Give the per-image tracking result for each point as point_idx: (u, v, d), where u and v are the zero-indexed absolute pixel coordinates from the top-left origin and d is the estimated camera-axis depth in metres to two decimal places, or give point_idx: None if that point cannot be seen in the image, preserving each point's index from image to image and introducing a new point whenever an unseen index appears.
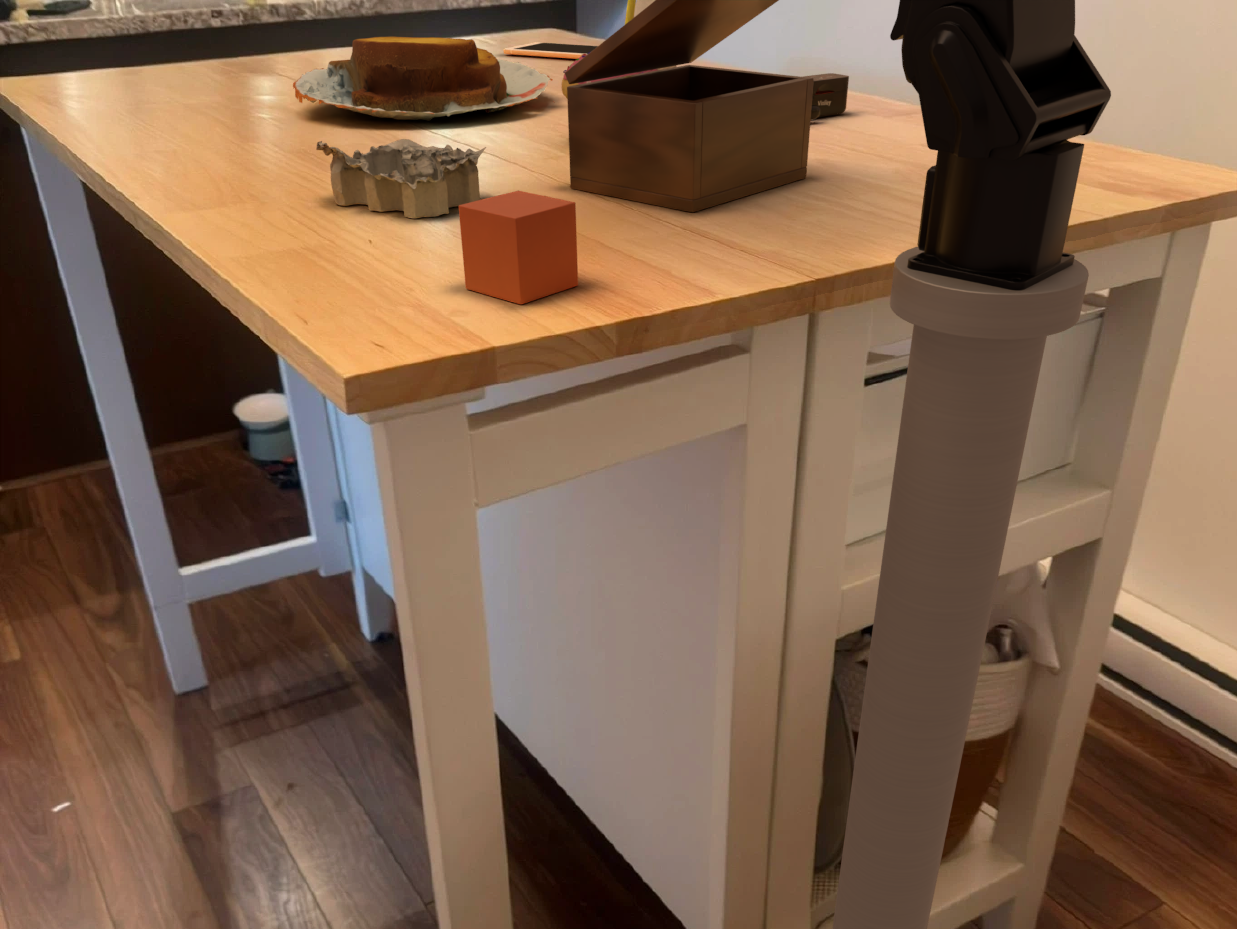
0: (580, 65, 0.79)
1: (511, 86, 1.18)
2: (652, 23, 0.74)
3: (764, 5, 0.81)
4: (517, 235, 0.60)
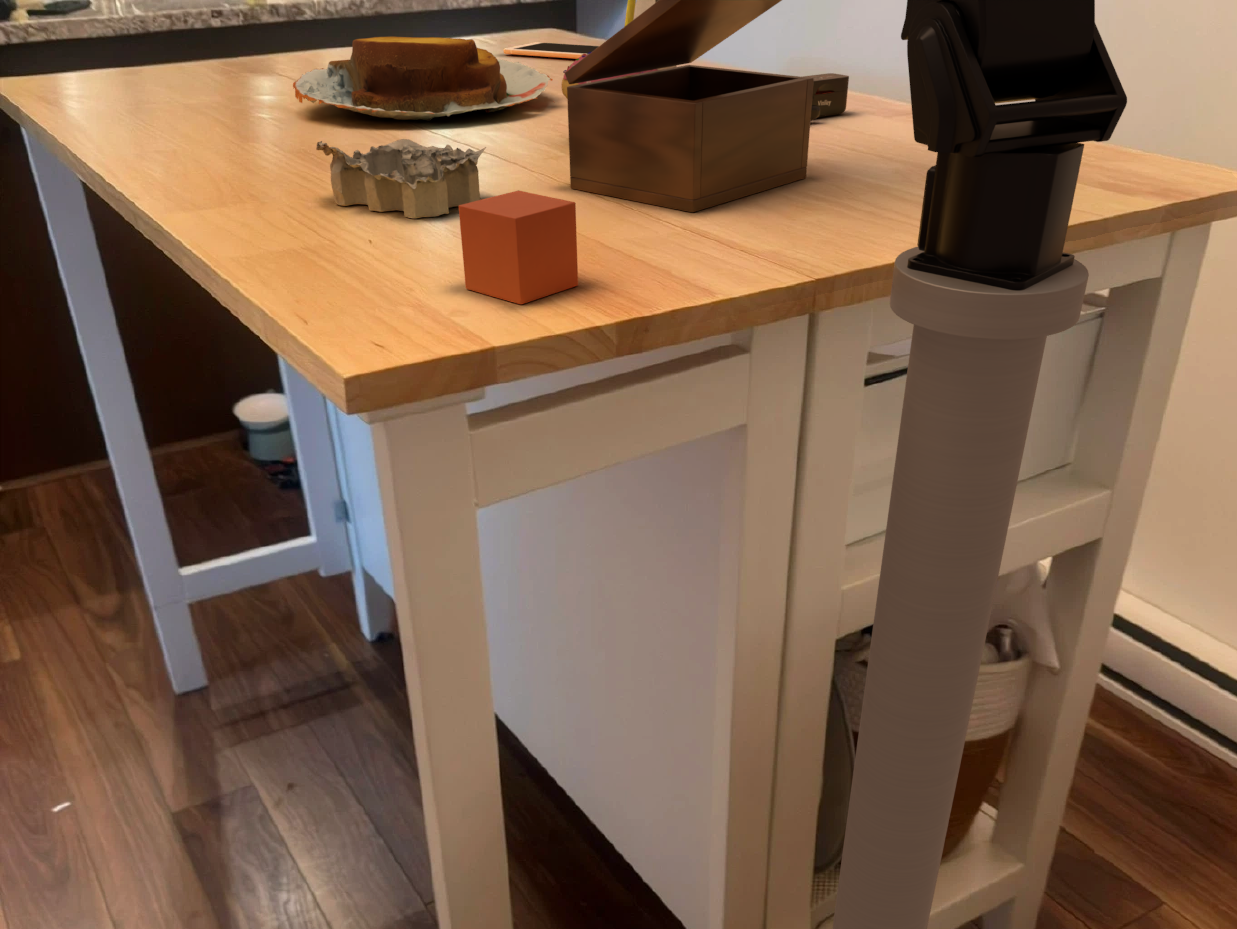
0: (580, 65, 0.79)
1: (511, 86, 1.18)
2: (653, 25, 0.74)
3: (765, 7, 0.81)
4: (517, 235, 0.60)
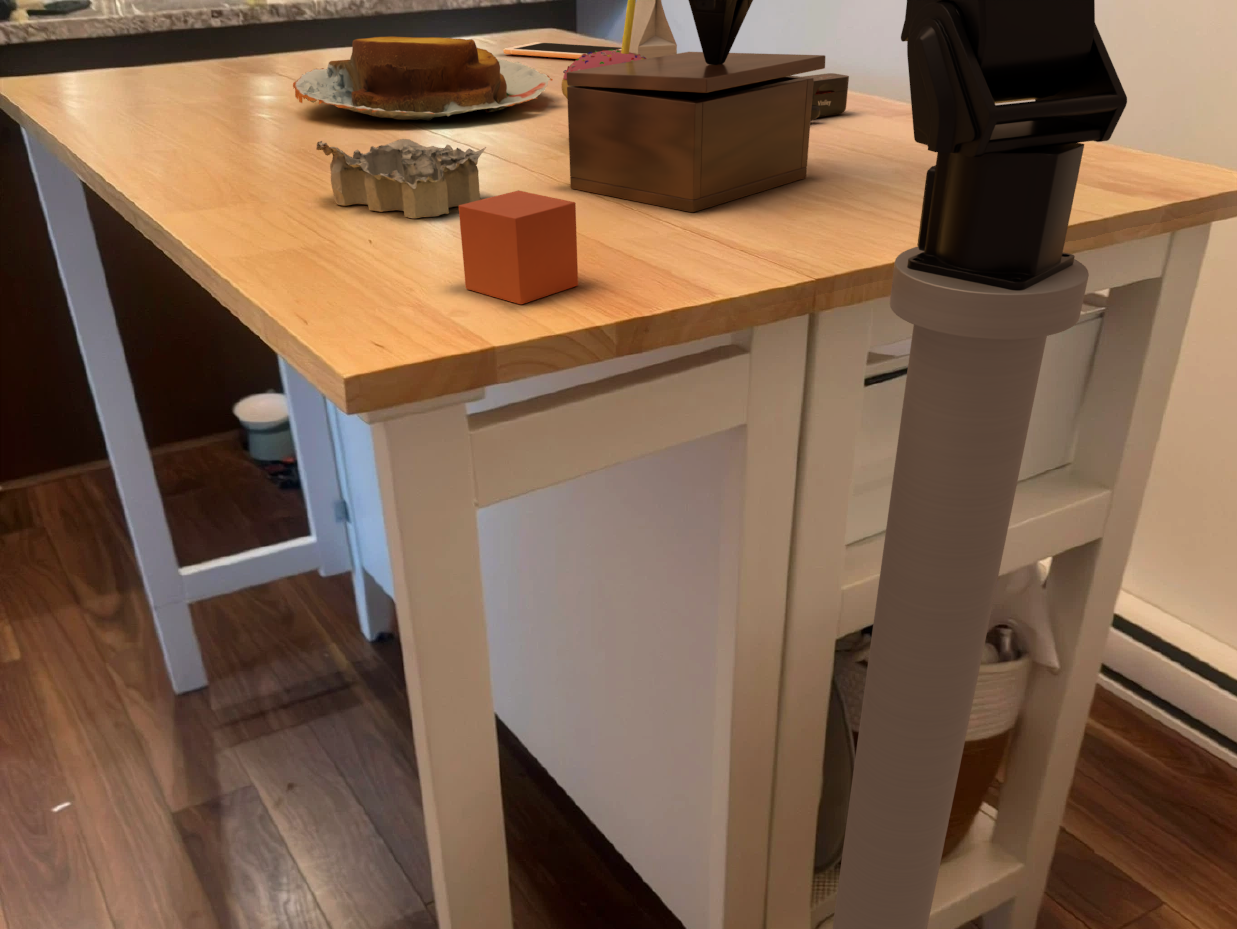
0: (583, 77, 0.79)
1: (511, 86, 1.18)
2: None
3: None
4: (517, 235, 0.60)
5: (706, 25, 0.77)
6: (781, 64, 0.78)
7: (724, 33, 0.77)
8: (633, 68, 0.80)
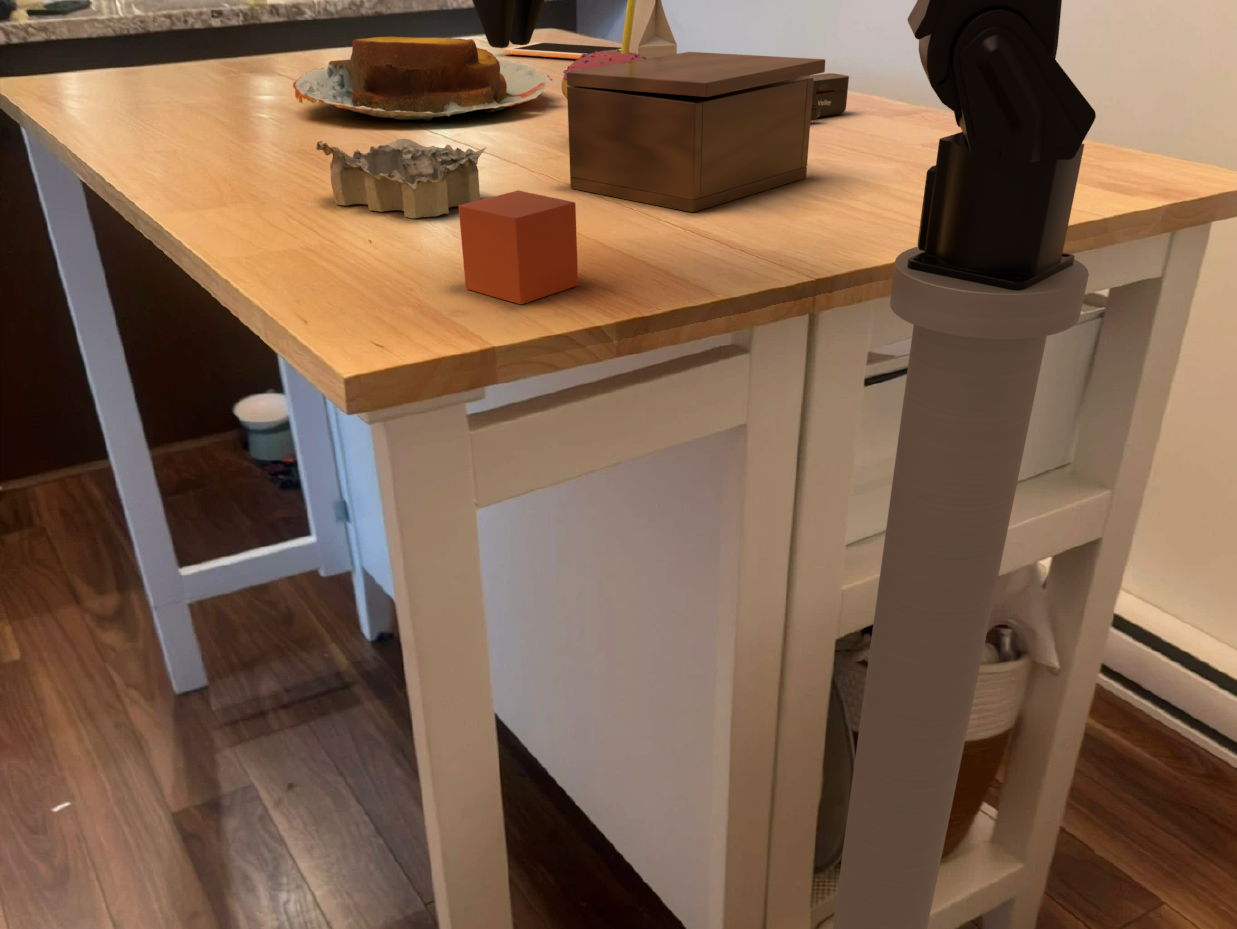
0: (583, 78, 0.79)
1: (511, 86, 1.18)
2: None
3: None
4: (517, 235, 0.60)
5: None
6: (781, 68, 0.78)
7: (506, 3, 0.55)
8: (633, 69, 0.80)
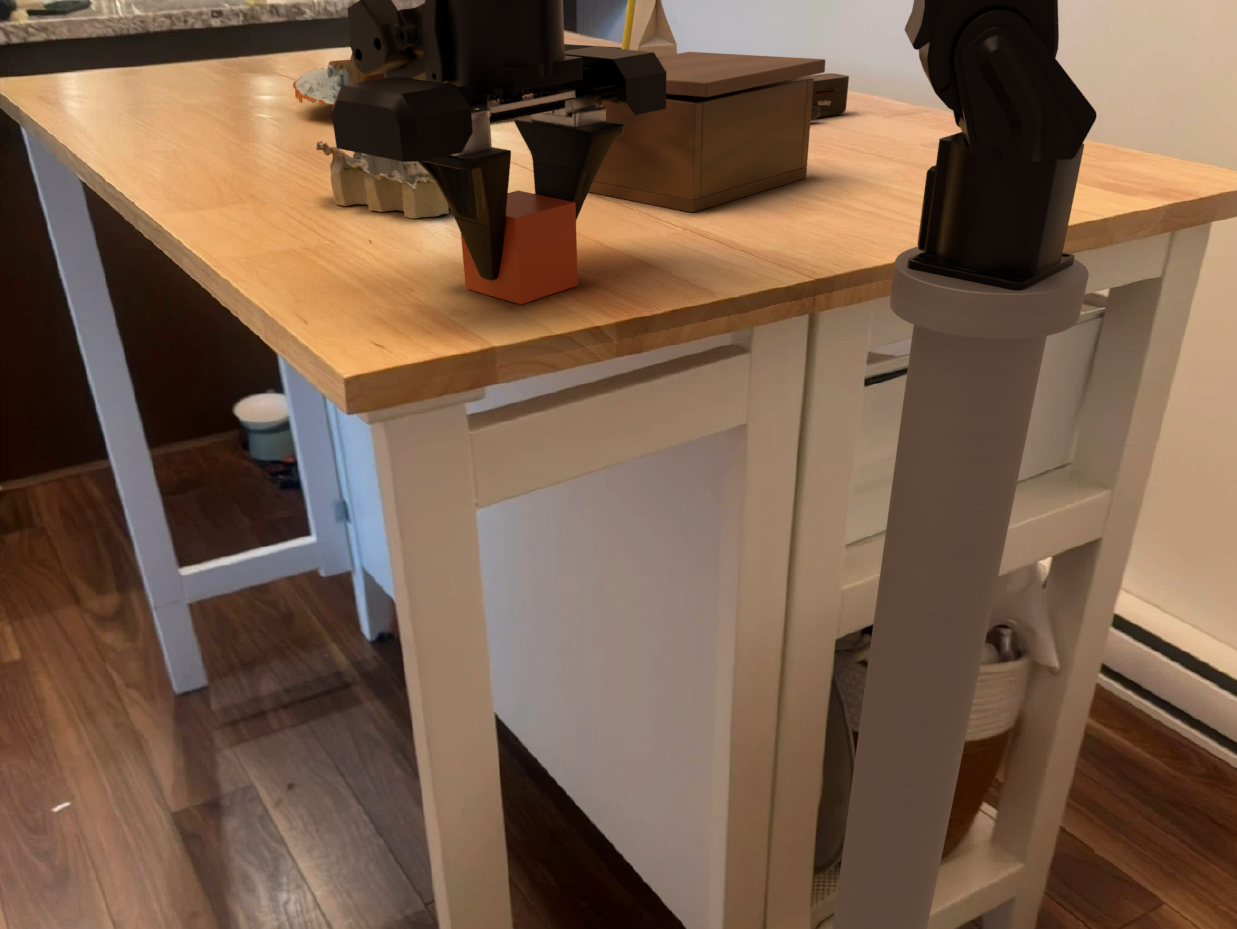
0: None
1: None
2: None
3: None
4: (517, 235, 0.60)
5: (473, 235, 0.60)
6: (781, 68, 0.78)
7: (495, 246, 0.60)
8: None
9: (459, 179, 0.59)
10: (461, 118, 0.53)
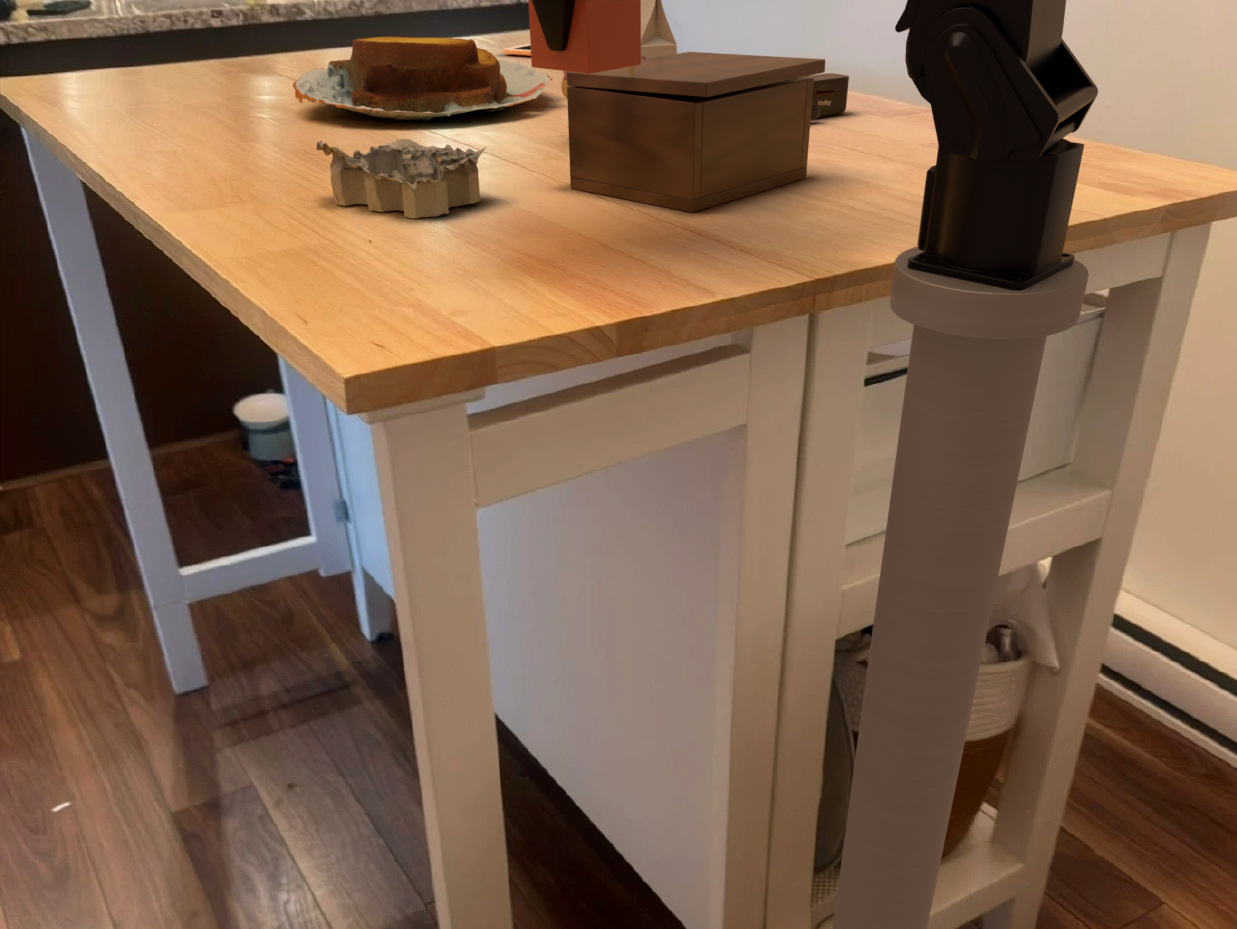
0: (583, 78, 0.79)
1: (511, 86, 1.18)
2: None
3: None
4: None
5: (544, 1, 0.62)
6: (781, 68, 0.78)
7: (566, 11, 0.62)
8: (633, 69, 0.80)
9: None
10: None
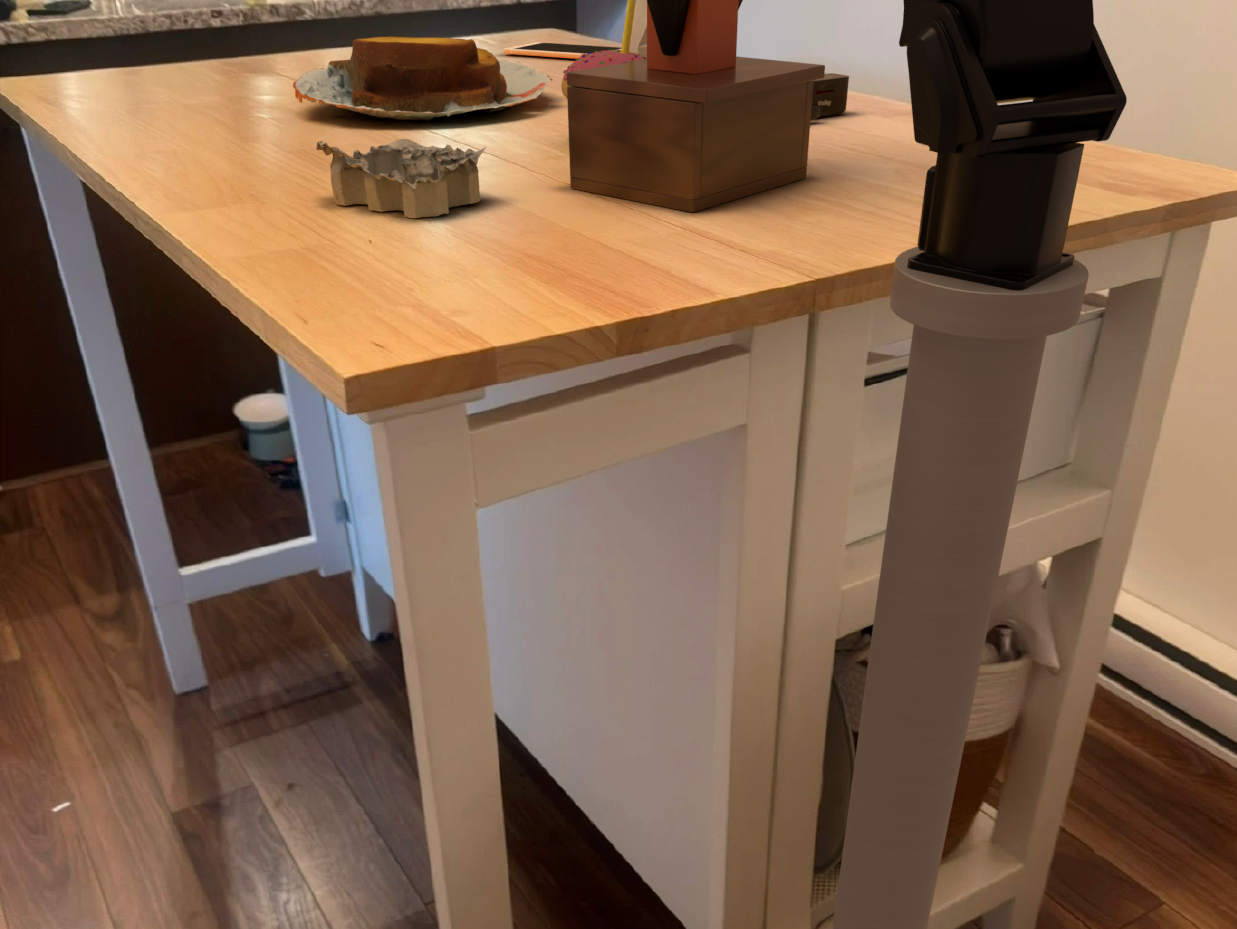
0: (583, 79, 0.79)
1: (511, 86, 1.18)
2: None
3: None
4: (698, 14, 0.76)
5: (662, 16, 0.77)
6: (781, 74, 0.78)
7: (680, 24, 0.77)
8: (633, 71, 0.80)
9: None
10: None
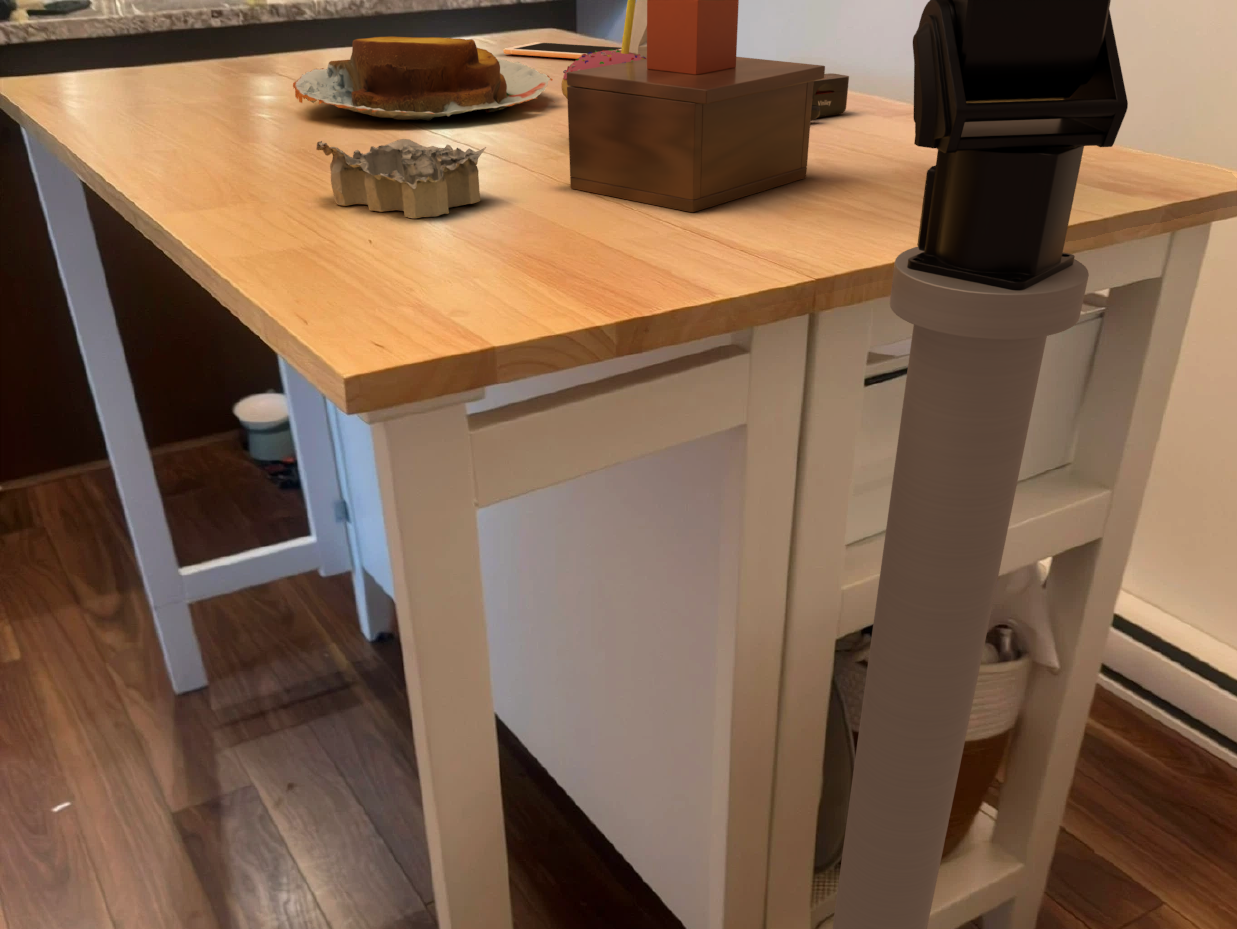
0: (583, 79, 0.79)
1: (511, 86, 1.18)
2: None
3: None
4: (698, 14, 0.76)
5: None
6: (781, 75, 0.78)
7: None
8: (633, 71, 0.80)
9: None
10: None
